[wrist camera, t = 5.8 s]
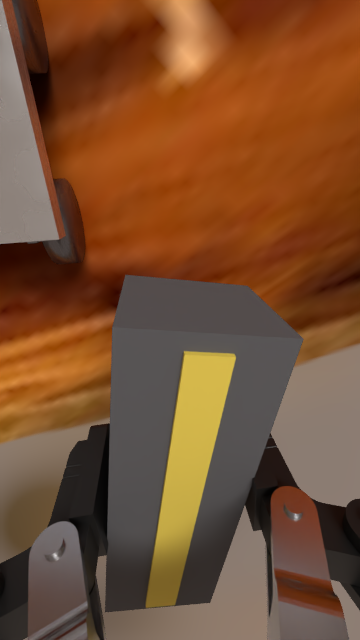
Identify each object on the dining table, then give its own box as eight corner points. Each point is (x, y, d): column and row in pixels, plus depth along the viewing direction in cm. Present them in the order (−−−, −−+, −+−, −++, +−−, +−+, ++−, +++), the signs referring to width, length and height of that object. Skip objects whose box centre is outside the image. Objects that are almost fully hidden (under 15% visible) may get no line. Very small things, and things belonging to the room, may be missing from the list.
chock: (125, 274, 9) (111, 330, 6) (247, 285, 10) (306, 342, 6) (115, 509, 15) (104, 617, 11) (195, 506, 15) (210, 607, 12)
